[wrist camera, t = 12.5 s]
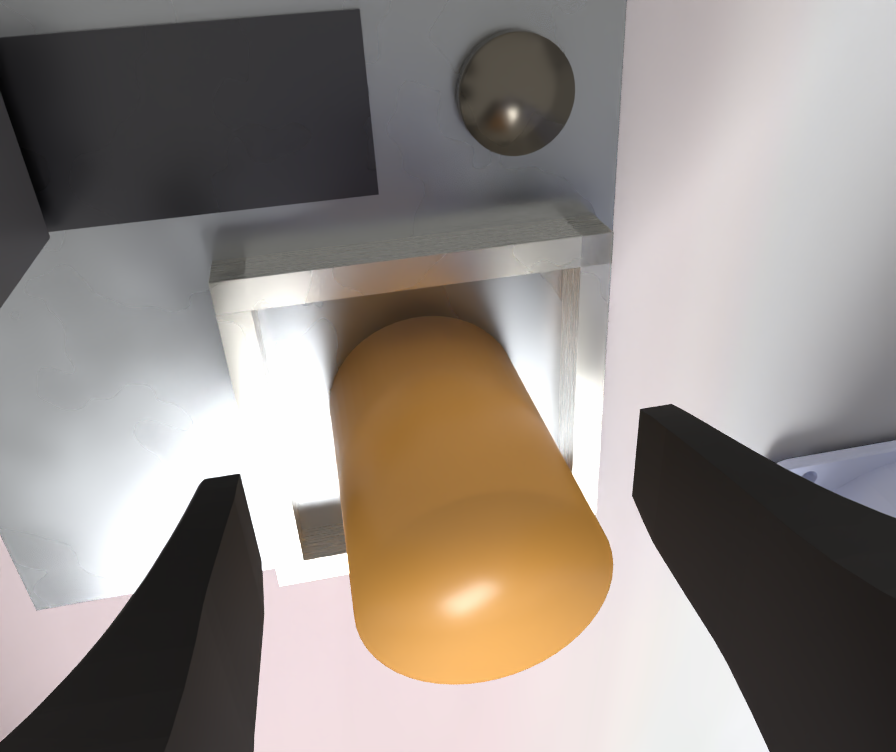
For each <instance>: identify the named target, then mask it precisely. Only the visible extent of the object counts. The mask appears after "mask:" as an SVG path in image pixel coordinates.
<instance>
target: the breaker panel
mask: <svg viewBox="0 0 896 752" xmlns="http://www.w3.org/2000/svg"><path fill="white" fill-rule="evenodd" d="M626 4H627V0H0V92H1V95H2V98H3V101H4V104H5V107H6V110H7V113H8V116H9V118H10V121H11V124H12V127H13V130H14V133H15V136H16V139H17V142H18V145H19V148H20V151H21V154H22V156H23V159H24V162H25V165H26V168H27V171H28V174H29V177H30V180H31V183H32V186H33V189H34V192H35V194H36V197H37V200H38V203H39V206H40V209H41V212H42V215H43V218H44V221H45V224H46V227H47V230H48V232H49V235H50V239H49V240H48V242H47V243H46V244H45V246H44V247H43V249H42V250H41V252H40V253H39V254H38V256H37V257H36V259H35V260H34V261H33V263H32V264H31V266H30V267H29V269H28V270H27V271H26V273H25V274H24V276H23V277H22V279H21V280H20V281H19V283H18V284H17V286H16V287H15V289H14V290H13V291H12V293H11V294H10V296H9V297H8V298H7V300H6V301H5V303H4V304H3V306H2V307H1V308H0V535H1V537H2V540H3V542H4V544H5V546H6V548H7V550H8V552H9V554H10V556H11V558H12V560H13V562H14V564H15V567H16V569H17V571H18V573H19V575H20V577H21V579H22V581H23V583H24V585H25V587H26V589H27V592H28V594H29V596H30V598H31V600H32V602H33V604H34V606H35V608H36V610H42V609H48V608H53V607H59V606H64V605H70V604H76V603H81V602H87V601H93V600H98V599H104V598H109V597H115V596H121V595H126V594H132V593H134V592H135V591H136V589H137V588H138V586H139V585H140V584H141V582H142V581H143V579H144V578H145V576H146V575H147V573H148V572H149V570H150V569H151V567H152V566H153V564H154V562H155V561H156V559H157V558H158V556H159V554H160V553H161V551H162V550H163V548H164V546H165V545H166V543H167V541H168V540H169V538H170V537H171V535H172V533H173V531H174V530H175V528H176V526H177V524H178V523H179V521H180V519H181V517H182V515H183V514H184V512H185V510H186V508H187V506H188V504H189V503H190V501H191V499H192V497H193V495H194V493H195V491H196V489H197V487H198V485H199V484H200V483H201V482H202V481H203V479H207V478H213V477H219V476H226V475H232V474H238V473H240V474H241V478H242V482H243V486H244V491H245V495H246V499H247V503H248V507H249V511H250V515H251V519H252V523H253V527H254V531H255V535H256V539H257V543H258V547H259V551H260V555H261V559H262V570H267V569H272V568H276V572H277V576H278V580H279V585H280V586H283V585H289V584H294V583H300V582H305V581H311V580H316V579H322V578H327V577H333V576H338V575H344V574H349V569H348V560H347V552H346V544H345V535H344V527H343V519H342V510H341V502H340V493H339V485H338V477H337V468H336V460H335V452H334V443H333V435H332V427H331V418H330V394H331V388H332V385H333V382H334V378H335V376H336V374H337V372H338V370H339V368H340V366H341V365H342V363H343V362H344V360H345V359H346V357H347V356H348V355H349V354H350V353H351V352H352V350H353V349H354V348H355V347H356V346H357V345H359V344H360V343H361V342H362V341H363V340H364V339H366V338H367V337H369V336H370V335H371V334H373V333H374V332H376V331H378V330H380V329H382V328H384V327H385V326H388V325H390V324H393V323H395V322H398V321H402V320H406V319H409V318H415V317H422V316H443V317H451V318H456V319H460V320H463V321H466V322H469V323H471V324H474V325H476V326H478V327H479V328H481V329H483V330H485V331H486V332H487V333H489V334H490V335H491V336H493V337H494V338H495V339H496V340H497V341H498V342H499V343H500V344H501V346H502V347H503V349H504V350H505V351H506V353H507V354H508V356H509V358H510V360H511V362H512V364H513V365H514V367H515V369H516V371H517V373H518V375H519V377H520V378H521V380H522V382H523V384H524V386H525V388H526V389H527V391H528V393H529V395H530V397H531V399H532V400H533V402H534V404H535V406H536V408H537V410H538V412H539V413H540V415H541V417H542V419H543V421H544V423H545V424H546V426H547V428H548V430H549V432H550V434H551V435H552V437H553V439H554V441H555V443H556V445H557V447H558V448H559V450H560V452H561V454H562V456H563V458H564V459H565V461H566V463H567V465H568V467H569V469H570V470H571V472H572V474H573V476H574V478H575V480H576V482H577V483H578V485H579V487H580V489H581V491H582V493H583V494H584V496H585V498H586V500H587V502H588V504H589V505H590V507H591V509H592V511H593V513H594V515H595V517H596V506H597V490H598V474H599V457H600V441H601V425H602V409H603V393H604V377H605V361H606V345H607V329H608V312H609V296H610V280H611V264H612V248H613V215H614V199H615V183H616V167H617V150H618V134H619V118H620V101H621V85H622V69H623V52H624V36H625V20H626Z"/></svg>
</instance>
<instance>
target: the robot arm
mask: <svg viewBox="0 0 896 752" xmlns="http://www.w3.org/2000/svg"><path fill="white" fill-rule="evenodd" d="M802 475H803V476H802ZM632 497H633V499H634V501H635V504H636V506H637V508H638V511H639V513H640V515H641V518H642V520H643V522H644V524H645V526H646V529H647V531H648V533H649V535H650V537H651V539H652V541H653V543H654V545H655V546H656V548H657V550H658V551H659V553H660V555H661V556H662V558H663V560H664V561H665V563H666V564H667V566H668V568H669V569H670V571H671V573H672V574H673V576H674V577H675V579H676V581H677V582H678V584H679V585H680V587H681V588H682V590H683V592H684V593H685V595H686V596H687V598H688V600H689V601H690V603H691V604H692V606H693V607H694V609H695V611H696V612H697V614H698V615H699V617H700V619H701V620H702V622H703V623H704V625H705V626H706V628H707V630H708V631H709V633H710V634H711V636H712V637H713V639H714V641H715V642H716V644H717V646H718V648H719V649H720V651H721V653H722V655H723V656H724V658H725V660H726V662H727V664H728V666H729V668H730V670H731V672H732V674H733V676H734V678H735V680H736V682H737V684H738V686H739V688H740V690H741V692H742V694H743V696H744V698H745V700H746V702H747V704H748V706H749V708H750V710H751V712H752V715H753V717H754V719H755V721H756V723H757V725H758V728H759V730H760V732H761V734H762V736H763V738H764V741H765V743H766V745H767V747H768V749H769V751H770V752H896V440H894V441H888V442H883V443H877V444H871V445H865V446H860V447H854V448H848V449H842V450H837V451H831V452H825V453H820V454H814V455H808V456H802V457H797V458H791V459H786V460H783V461H780V462H778V463H775V462H773V461H771V460H769V459H767V458H765V457H764V456H762V455H760V454H758V453H757V452H755V451H753V450H751V449H749V448H748V447H746V446H744V445H742V444H741V443H739V442H737V441H736V440H734V439H732V438H730V437H729V436H727V435H725V434H724V433H722V432H720V431H719V430H717V429H715V428H713V427H712V426H710V425H708V424H707V423H705V422H703V421H702V420H700V419H698V418H696V417H695V416H693V415H691V414H689V413H688V412H686V411H684V410H682V409H680V408H678V407H676V406H674V405H672V404H669V405H663V406H657V407H650V408H644V409H640V417H639V428H638V438H637V449H636V460H635V471H634V481H633V492H632ZM263 623H264V596H263V573H262V559H261V555H260V551H259V547H258V543H257V539H256V535H255V531H254V527H253V523H252V519H251V515H250V511H249V507H248V503H247V499H246V495H245V491H244V486H243V482H242V478H241V474H240V473H238V474H232V475H226V476H219V477H213V478H207V479H203V481H202V482H201V483H200V484H199V485H198V487H197V489H196V491H195V493H194V495H193V497H192V499H191V501H190V503H189V504H188V506H187V508H186V510H185V512H184V514H183V515H182V517H181V519H180V521H179V523H178V524H177V526H176V528H175V530H174V531H173V533H172V535H171V537H170V538H169V540H168V541H167V543H166V545H165V546H164V548H163V550H162V551H161V553H160V554H159V556H158V558H157V559H156V561H155V562H154V564H153V566H152V567H151V569H150V570H149V572H148V573H147V575H146V576H145V578H144V579H143V581H142V582H141V584H140V585H139V586H138V588H137V589H136V591H135V592H134V594H133V595H132V596H131V598H130V599H129V601H128V602H127V604H126V605H125V606H124V608H123V609H122V611H121V612H120V613H119V615H118V616H117V617H116V619H115V620H114V621H113V623H112V624H111V625H110V626H109V628H108V629H107V630H106V632H105V633H104V634H103V635H102V637H101V638H100V639H99V640H98V641H97V643H96V644H95V645H94V646H93V647H92V649H91V650H90V651H89V652H88V653H87V655H86V656H85V657H84V658H83V659H82V660H81V662H80V663H79V664H78V665H77V666H76V667H75V668H74V669H73V670H72V672H71V673H70V674H69V675H68V676H67V677H66V678H65V679H64V680H63V681H62V682H61V683H60V684H59V685H58V686H57V687H56V689H55V690H54V691H53V692H52V693H51V694H50V695H49V696H48V697H47V698H46V699H45V700H44V701H43V702H42V703H41V704H40V705H39V706H38V707H37V708H36V709H35V710H34V711H33V712H32V713H31V714H30V715H29V716H28V717H27V718H26V719H25V720H24V721H23V722H22V723H21V724H19V725H18V726H17V727H16V728H15V729H14V730H13V731H12V732H11V733H10V734H9V735H8V736H7V737H6V738H4V739H3V740H2V741H1V742H0V752H254V732H255V720H256V708H257V696H258V685H259V673H260V661H261V649H262V636H263Z"/></svg>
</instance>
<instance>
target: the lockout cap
mask: <svg viewBox="0 0 896 752" xmlns="http://www.w3.org/2000/svg"><path fill="white" fill-rule="evenodd" d="M330 418H331V427H332V435H333V443H334V452H335V460H336V468H337V477H338V485H339V493H340V502H341V510H342V519H343V527H344V535H345V544H346V552H347V560H348V569H349V577H350V585H351V594H352V602H353V610H354V618H355V623H356V628H357V630H358V633H359V636H360V638H361V640H362V642H363V643H364V645H365V646H366V648H367V649H368V650H369V652H370V653H371V654H372V655H373V656H374V657H375V658H376V659H377V660H379V661H380V662H381V663H382V664H384V665H385V666H386V667H388V668H390V669H392V670H393V671H395V672H397V673H399V674H402V675H404V676H407V677H409V678H413V679H416V680H420V681H424V682H431V683H437V684H471V683H479V682H485V681H490V680H495V679H499V678H503V677H506V676H509V675H513V674H515V673H518V672H520V671H523V670H526V669H528V668H530V667H532V666H534V665H536V664H538V663H540V662H542V661H544V660H546V659H547V658H549V657H551V656H552V655H554V654H556V653H557V652H559V651H560V650H561V649H563V648H564V647H565V646H567V645H568V644H569V643H570V642H572V641H573V640H574V639H575V638H576V637H577V636H578V635H580V633H581V632H582V631H583V630H584V629H585V628H586V627H587V626H588V625H589V624H590V622H591V621H592V620H593V618H594V617H595V616H596V614H597V613H598V611H599V610H600V608H601V606H602V604H603V603H604V601H605V598H606V596H607V593H608V591H609V588H610V584H611V580H612V573H613V558H612V551H611V548H610V544H609V541H608V539H607V537H606V535H605V533H604V531H603V529H602V528H601V526H600V524H599V522H598V520H597V518H596V517H595V515H594V513H593V511H592V509H591V507H590V505H589V504H588V502H587V500H586V498H585V496H584V494H583V493H582V491H581V489H580V487H579V485H578V483H577V482H576V480H575V478H574V476H573V474H572V472H571V470H570V469H569V467H568V465H567V463H566V461H565V459H564V458H563V456H562V454H561V452H560V450H559V448H558V447H557V445H556V443H555V441H554V439H553V437H552V435H551V434H550V432H549V430H548V428H547V426H546V424H545V423H544V421H543V419H542V417H541V415H540V413H539V412H538V410H537V408H536V406H535V404H534V402H533V400H532V399H531V397H530V395H529V393H528V391H527V389H526V388H525V386H524V384H523V382H522V380H521V378H520V377H519V375H518V373H517V371H516V369H515V367H514V365H513V364H512V362H511V360H510V358H509V356H508V354H507V353H506V351H505V350H504V349H503V347H502V346H501V344H500V343H499V342H498V341H497V340H496V339H495V338H494V337H493V336H491V335H490V334H489V333H487V332H486V331H485V330H483V329H481V328H479V327H478V326H476V325H474V324H471V323H469V322H466V321H463V320H460V319H456V318H451V317H443V316H422V317H415V318H409V319H406V320H402V321H398V322H395V323H393V324H390V325H388V326H385V327H384V328H382V329H380V330H378V331H376V332H374V333H373V334H371V335H370V336H369V337H367V338H366V339H364V340H363V341H362V342H361V343H360V344H359V345H357V346H356V347H355V348H354V349H353V350H352V352H351V353H350V354H349V355H348V356H347V357H346V359H345V360H344V362H343V363H342V365H341V366H340V368H339V370H338V372H337V374H336V376H335V378H334V382H333V385H332V388H331V394H330Z"/></svg>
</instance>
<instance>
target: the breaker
mask: <svg viewBox="0 0 896 752" xmlns="http://www.w3.org/2000/svg"><path fill="white" fill-rule="evenodd" d="M49 239H50V235H49V232H48V230H47V227H46V224H45V221H44V218H43V215H42V212H41V209H40V206H39V203H38V200H37V197H36V194H35V192H34V189H33V186H32V183H31V180H30V177H29V174H28V171H27V168H26V165H25V162H24V159H23V156H22V154H21V151H20V148H19V145H18V142H17V139H16V136H15V133H14V130H13V127H12V124H11V121H10V118H9V116H8V113H7V110H6V107H5V104H4V101H3V98H2V95H1V92H0V308H1V307H2V306H3V304H4V303H5V301H6V300H7V298H8V297H9V296H10V294H11V293H12V291H13V290H14V289H15V287H16V286H17V284H18V283H19V281H20V280H21V279H22V277H23V276H24V274H25V273H26V271H27V270H28V269H29V267H30V266H31V264H32V263H33V261H34V260H35V259H36V257H37V256H38V254H39V253H40V252H41V250H42V249H43V247H44V246H45V244H46V243H47V242H48V240H49Z"/></svg>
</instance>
